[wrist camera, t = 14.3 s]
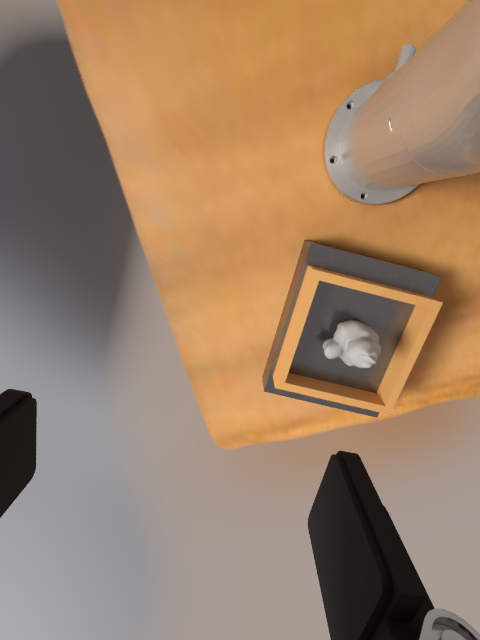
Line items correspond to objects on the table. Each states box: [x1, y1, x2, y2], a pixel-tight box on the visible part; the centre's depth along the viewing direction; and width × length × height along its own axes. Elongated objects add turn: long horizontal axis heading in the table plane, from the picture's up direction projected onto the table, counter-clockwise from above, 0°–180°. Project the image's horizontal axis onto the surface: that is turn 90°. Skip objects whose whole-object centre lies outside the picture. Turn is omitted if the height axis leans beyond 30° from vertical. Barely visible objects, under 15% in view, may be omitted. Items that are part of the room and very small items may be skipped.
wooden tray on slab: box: [263, 240, 443, 417], centre depth 40 cm, size 20×16×7 cm
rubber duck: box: [323, 320, 381, 368], centre depth 36 cm, size 5×7×8 cm
